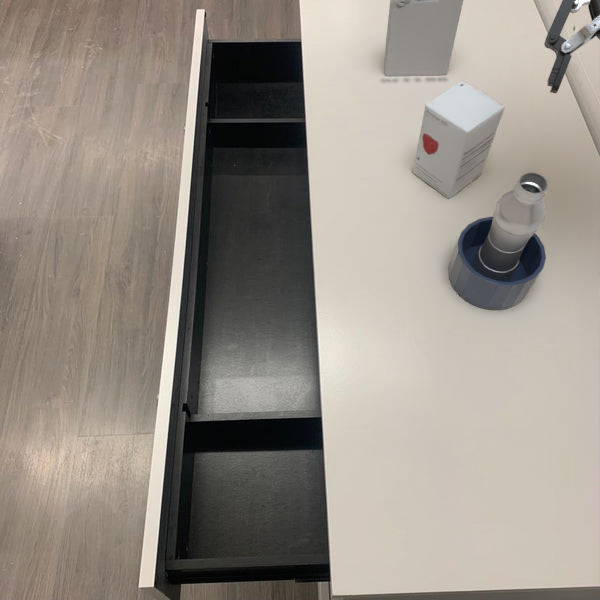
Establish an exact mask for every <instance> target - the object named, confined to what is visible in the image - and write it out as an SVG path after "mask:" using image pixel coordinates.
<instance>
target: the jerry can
mask: <svg viewBox="0 0 600 600" xmlns="http://www.w3.org/2000/svg"><path fill="white" fill-rule="evenodd" d="M463 4H464V0H389V9H388V18H387V28H386V38H385V39H386V40H385V47H384V57H383V64H384V74H385V76H387V77H406V76H407V77H414V76H415V77H418V76H421V77H423V76H446V75H447V74H448V72H449V68H450V63H451V59H452V55H453V50H454V45H455V40H456V36H457V32H458V27H459V22H460V18H461V13H462V9H463Z"/></svg>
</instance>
